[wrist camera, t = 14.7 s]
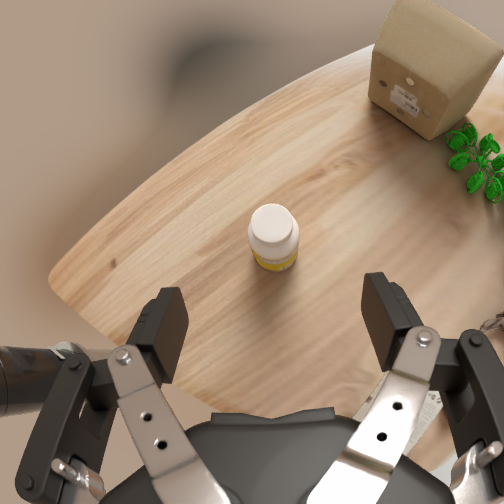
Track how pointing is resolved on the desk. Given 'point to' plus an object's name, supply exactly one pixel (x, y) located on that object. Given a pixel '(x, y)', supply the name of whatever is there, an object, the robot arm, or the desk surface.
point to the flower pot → (429, 66)
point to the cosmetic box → (423, 422)
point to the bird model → (493, 324)
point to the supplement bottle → (273, 237)
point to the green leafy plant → (478, 160)
